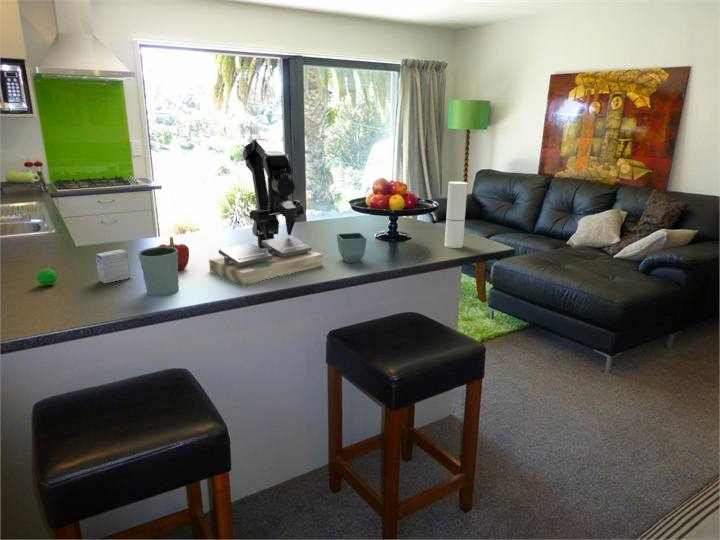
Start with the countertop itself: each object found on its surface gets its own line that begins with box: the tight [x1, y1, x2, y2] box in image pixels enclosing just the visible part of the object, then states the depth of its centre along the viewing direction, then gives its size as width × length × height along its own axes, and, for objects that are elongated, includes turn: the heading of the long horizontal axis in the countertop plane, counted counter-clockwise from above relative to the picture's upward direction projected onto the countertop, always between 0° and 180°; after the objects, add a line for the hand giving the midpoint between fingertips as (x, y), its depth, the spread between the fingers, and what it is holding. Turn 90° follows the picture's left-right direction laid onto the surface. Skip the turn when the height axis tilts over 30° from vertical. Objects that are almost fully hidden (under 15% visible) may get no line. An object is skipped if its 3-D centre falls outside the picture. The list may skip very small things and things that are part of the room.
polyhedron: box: [36, 268, 58, 287], centre depth 142 cm, size 5×5×5 cm
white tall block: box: [444, 181, 468, 249], centre depth 190 cm, size 7×7×25 cm
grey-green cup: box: [137, 246, 180, 297], centre depth 137 cm, size 10×10×12 cm
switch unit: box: [208, 240, 324, 286], centre depth 161 cm, size 20×31×7 cm, turn 135°
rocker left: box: [218, 242, 272, 267], centre depth 154 cm, size 12×12×2 cm
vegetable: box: [157, 236, 190, 271], centre depth 158 cm, size 11×10×10 cm
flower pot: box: [336, 232, 367, 263], centre depth 170 cm, size 9×9×9 cm
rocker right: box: [262, 235, 312, 257], centre depth 165 cm, size 12×12×2 cm
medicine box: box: [94, 249, 132, 284], centre depth 147 cm, size 8×4×9 cm, turn 141°
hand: (278, 237), depth 168 cm, fingers open, 9 cm apart
